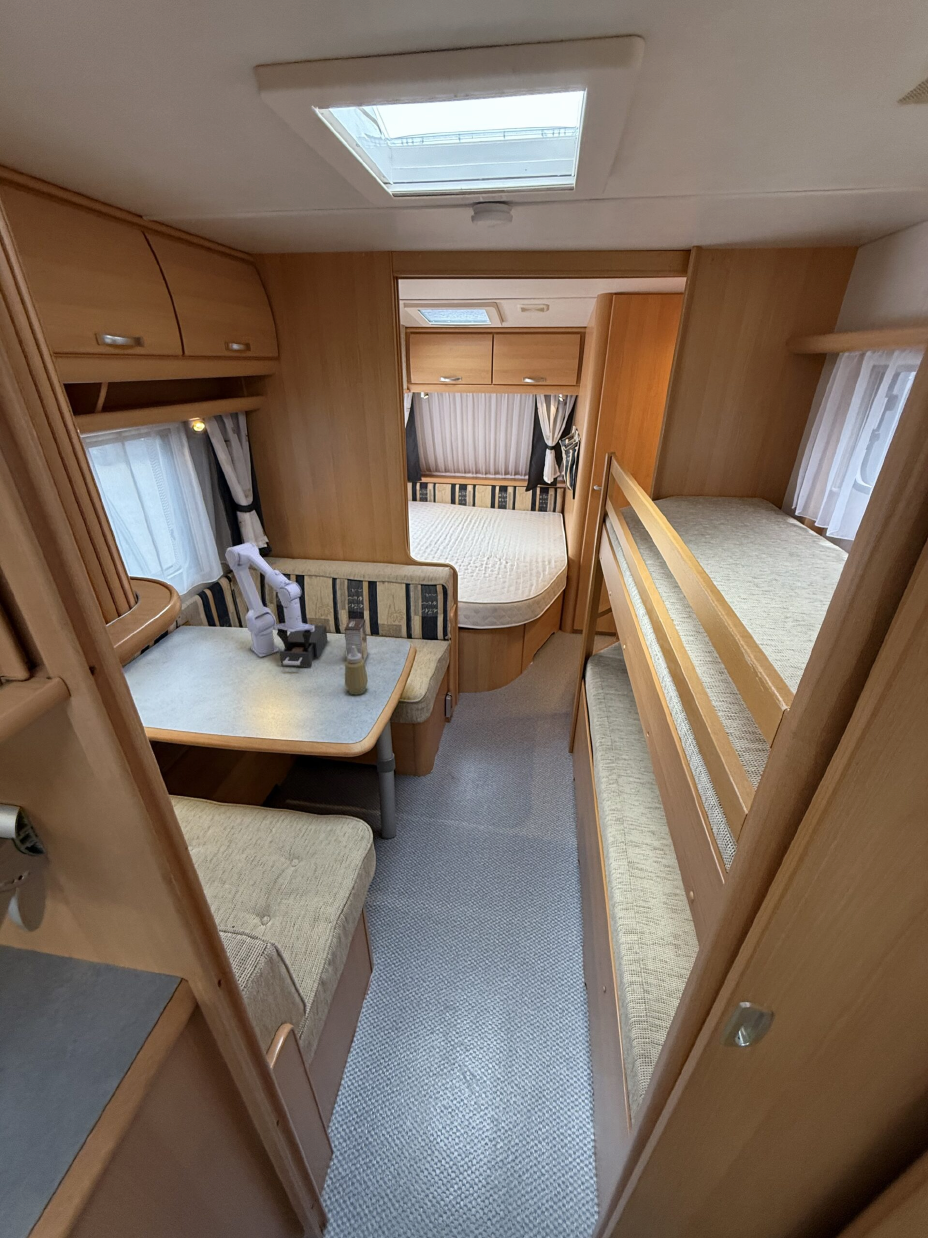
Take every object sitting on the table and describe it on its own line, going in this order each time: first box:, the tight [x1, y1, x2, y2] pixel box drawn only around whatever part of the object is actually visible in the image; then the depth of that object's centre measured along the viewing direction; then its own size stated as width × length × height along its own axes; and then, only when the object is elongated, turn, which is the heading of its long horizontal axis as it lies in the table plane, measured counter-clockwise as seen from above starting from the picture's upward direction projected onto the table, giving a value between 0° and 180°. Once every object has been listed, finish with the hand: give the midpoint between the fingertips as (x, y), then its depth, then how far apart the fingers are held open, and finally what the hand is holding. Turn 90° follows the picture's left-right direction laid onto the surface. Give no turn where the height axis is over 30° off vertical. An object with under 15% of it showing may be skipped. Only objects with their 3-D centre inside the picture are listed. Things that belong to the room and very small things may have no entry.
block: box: [292, 647, 305, 652], centre depth 190 cm, size 4×4×4 cm
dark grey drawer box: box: [288, 624, 329, 660], centre depth 200 cm, size 15×13×8 cm
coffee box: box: [344, 618, 369, 663], centre depth 192 cm, size 9×6×16 cm
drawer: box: [278, 643, 315, 668], centre depth 191 cm, size 18×11×6 cm, turn 179°
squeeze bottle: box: [344, 646, 369, 696], centre depth 173 cm, size 8×8×18 cm
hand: (297, 647), depth 188 cm, fingers open, 7 cm apart
